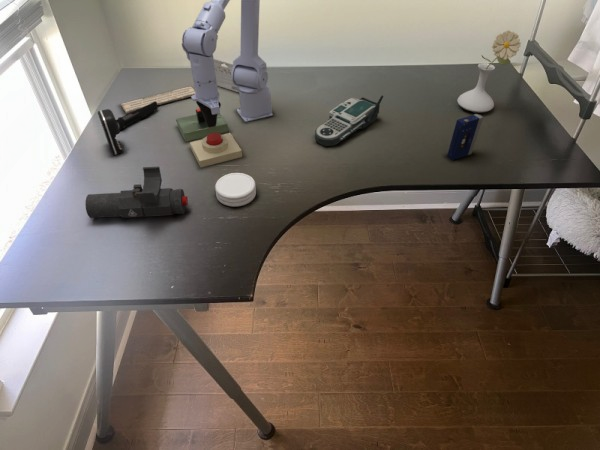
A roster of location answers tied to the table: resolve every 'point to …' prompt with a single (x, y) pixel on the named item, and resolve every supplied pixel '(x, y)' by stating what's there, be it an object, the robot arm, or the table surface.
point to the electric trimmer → (136, 115)
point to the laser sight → (139, 199)
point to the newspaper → (158, 99)
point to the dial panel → (199, 127)
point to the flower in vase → (478, 97)
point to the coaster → (235, 189)
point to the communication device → (347, 120)
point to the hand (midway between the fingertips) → (211, 125)
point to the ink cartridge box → (224, 75)
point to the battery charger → (110, 130)
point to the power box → (215, 151)
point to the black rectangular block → (200, 116)
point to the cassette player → (464, 136)
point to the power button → (214, 139)
